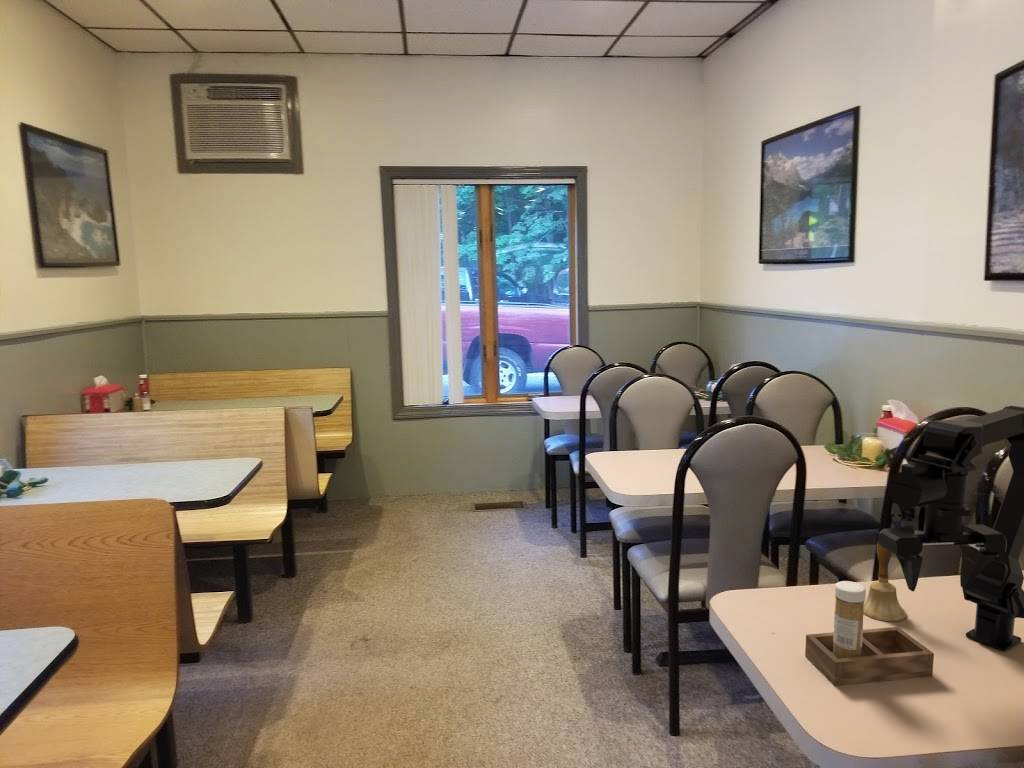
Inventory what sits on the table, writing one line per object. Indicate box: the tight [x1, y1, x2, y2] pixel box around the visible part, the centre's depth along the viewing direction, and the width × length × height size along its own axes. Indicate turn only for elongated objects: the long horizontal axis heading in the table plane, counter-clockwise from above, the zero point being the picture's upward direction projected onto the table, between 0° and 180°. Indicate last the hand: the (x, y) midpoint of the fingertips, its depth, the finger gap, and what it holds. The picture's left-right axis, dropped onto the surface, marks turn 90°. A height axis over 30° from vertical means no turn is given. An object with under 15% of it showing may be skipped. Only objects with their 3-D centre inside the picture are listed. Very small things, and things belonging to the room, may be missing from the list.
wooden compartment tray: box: [804, 626, 935, 687], centre depth 120 cm, size 17×9×4 cm, turn 97°
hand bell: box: [863, 542, 907, 623], centre depth 137 cm, size 8×8×16 cm
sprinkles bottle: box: [833, 580, 867, 659], centre depth 118 cm, size 5×5×14 cm
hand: (937, 589), depth 119 cm, fingers open, 9 cm apart
